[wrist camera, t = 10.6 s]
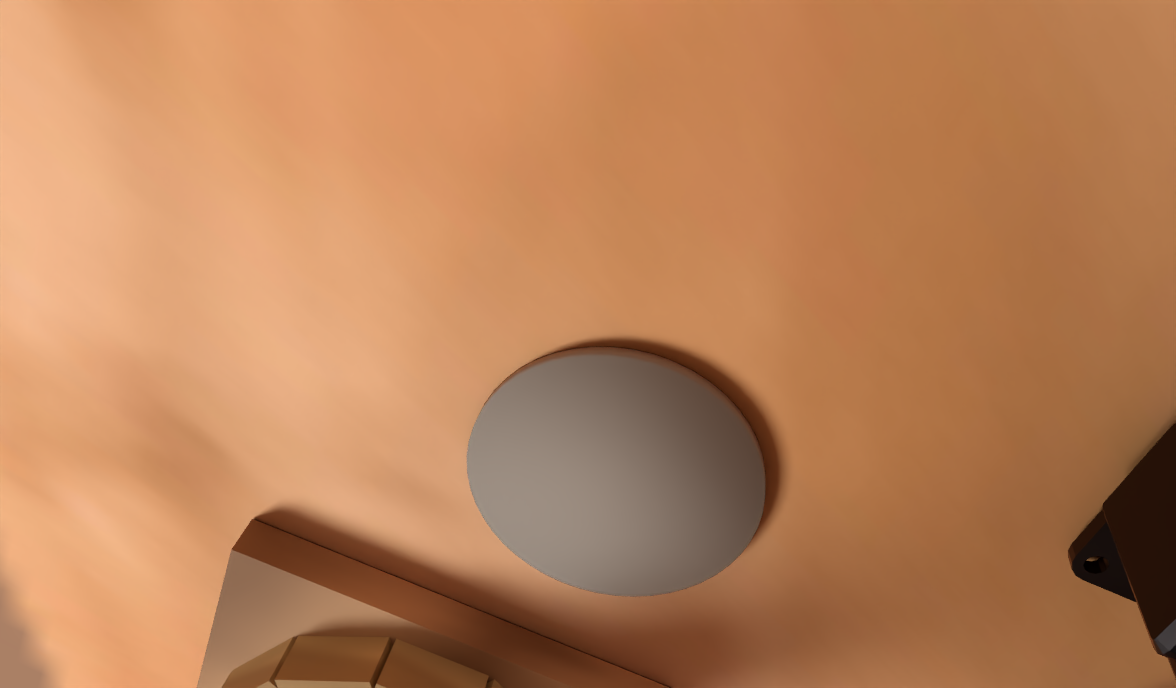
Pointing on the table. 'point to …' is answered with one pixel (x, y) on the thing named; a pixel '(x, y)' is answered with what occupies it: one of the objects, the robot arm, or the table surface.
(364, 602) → the hub board
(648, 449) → the grey coaster
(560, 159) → the table surface
